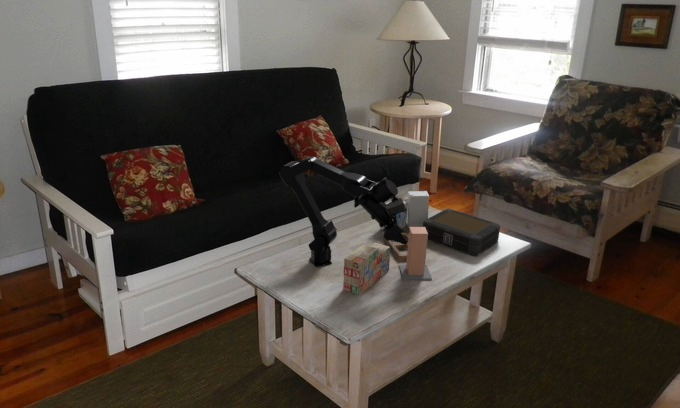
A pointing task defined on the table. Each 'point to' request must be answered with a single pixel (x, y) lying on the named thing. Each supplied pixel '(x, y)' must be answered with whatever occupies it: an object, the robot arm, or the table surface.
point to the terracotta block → (416, 250)
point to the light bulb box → (400, 217)
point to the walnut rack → (398, 247)
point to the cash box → (462, 231)
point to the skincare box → (417, 208)
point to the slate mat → (415, 277)
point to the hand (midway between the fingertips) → (404, 237)
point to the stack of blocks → (365, 267)
